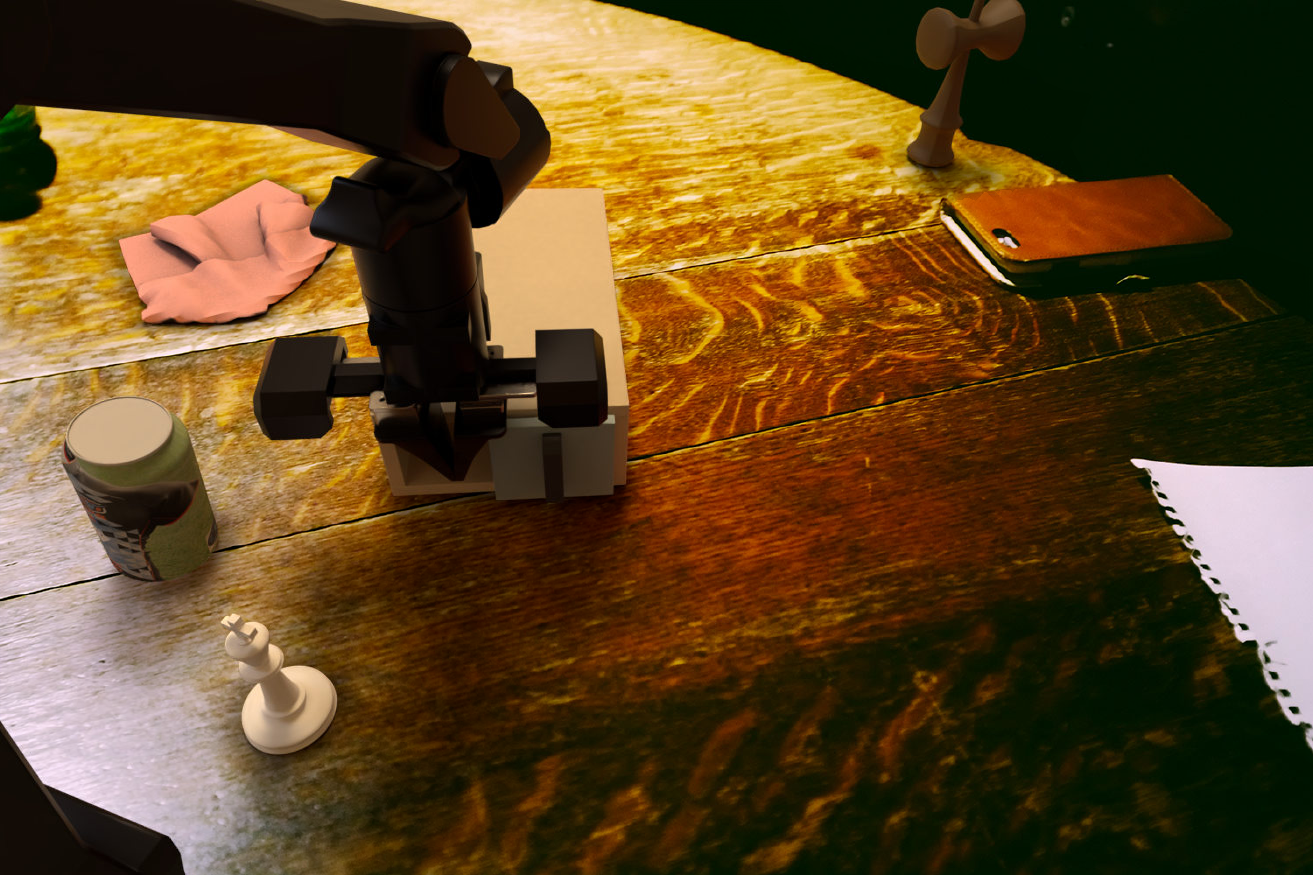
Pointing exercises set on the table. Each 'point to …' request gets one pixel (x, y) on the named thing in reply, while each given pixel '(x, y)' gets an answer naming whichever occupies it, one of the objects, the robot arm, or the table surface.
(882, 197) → the table surface
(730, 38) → the table surface
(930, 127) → the kendama
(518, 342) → the box
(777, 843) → the table surface
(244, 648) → the chess piece
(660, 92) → the table surface
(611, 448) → the closet door
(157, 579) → the beverage can
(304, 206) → the cloth
